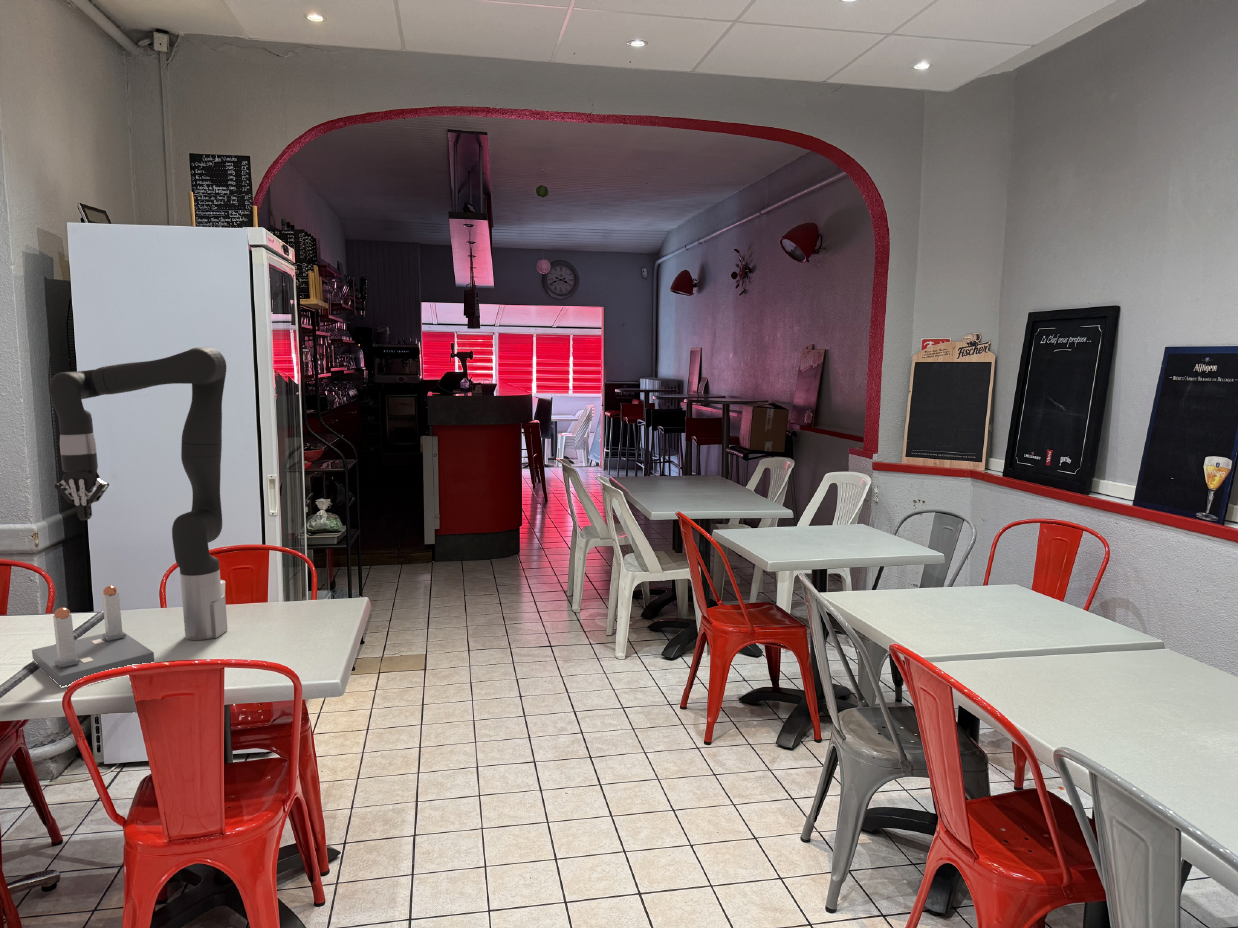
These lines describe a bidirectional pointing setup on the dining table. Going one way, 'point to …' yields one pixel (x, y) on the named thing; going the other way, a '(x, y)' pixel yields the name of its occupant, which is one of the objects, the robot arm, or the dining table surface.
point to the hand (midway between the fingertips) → (85, 519)
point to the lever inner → (112, 614)
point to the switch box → (93, 657)
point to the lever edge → (64, 638)
